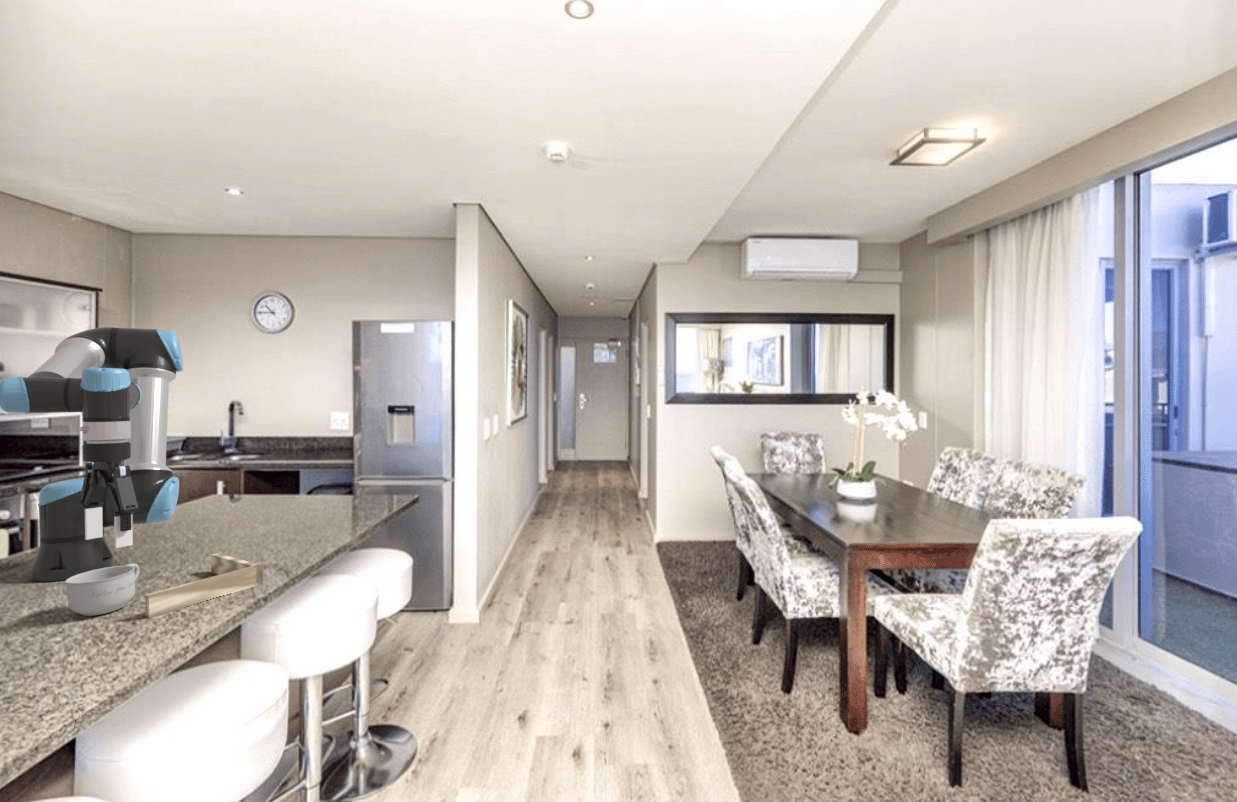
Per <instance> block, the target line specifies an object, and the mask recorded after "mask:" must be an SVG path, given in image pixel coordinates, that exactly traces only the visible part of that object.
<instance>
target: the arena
mask: <svg viewBox="0 0 1237 802" xmlns="http://www.w3.org/2000/svg"><path fill="white" fill-rule="evenodd" d="M210 573H212V574H215V575H214V576H210V577H206V578H203V579H198V580H194V581H192V582H188V583H184V584H181V585H177V586H172V587H169V588H165V589H162V590H157V591H154V592H150V593H148V594H147V593H146V594H145V597H144V599H145V601H144V602H145V603H144V604H145V605H144V607H145V609H144V610H145V611H144V612H145V613H144V614H145V618H148V619H150V618H154V617H157V616H160V615H164V614H167V613H170V612H174V610H175V611H178V610H181V609H185V608H187V606H188V607H190V606H195V605H197V603H198V604H201V603H205V602H207V601H206V600H208V601H210V599H211V600H213V598H214V599H217V598H216V597H218V598H220V597H219V596H221V597H224V596H228V595H231V594H234V593H237V592H240V591H244V590H247V589H251V588H254V587H258V586H261V585H263V584H264V565H263V564H260V563H256V562H252V561H248V560H244V559H242V558H237V557H233V556H229V555H226V554H223V553H222V554H221V553H218V552H216V553H212V554H210ZM230 593H231V594H230ZM227 594H228V595H227ZM223 595H224V596H223ZM200 602H201V603H200ZM194 604H195V605H194ZM184 607H185V608H184Z"/></svg>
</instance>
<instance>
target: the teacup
mask: <svg viewBox="0 0 1237 802" xmlns="http://www.w3.org/2000/svg"><path fill="white" fill-rule="evenodd" d="M140 571H141V570H140V566H139V565H138V564H137V563H127V564H125V565H114V566H113V567H106V568H101V569H96V570H92V571H88V572H84V573H81V574H77V575H75V576H72V577H70V578H68V579H67V580H64V584H65V585H66V586H65V587H66V588H65V589H66V597H67V602H68V607H69V609H70V610H71V611H72V612H74V613H76V614H80V615H81V616H85V617H93V616H98V615H103V614H104V615H105V614H109V613H112V612H115V611H117V610H120V609H121V608H123V607H125V606H126V605H127V603H128V602H129V601H131V600H132V598H134V596H135V593H136V580H137V579H138V577H139V575H140Z"/></svg>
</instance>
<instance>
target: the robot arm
mask: <svg viewBox="0 0 1237 802" xmlns="http://www.w3.org/2000/svg"><path fill="white" fill-rule="evenodd" d="M183 370H184V361H183V354H182V347H181V344H180V340H179V337H178V334H177V333H176V332H175V331H173V330H168V329H167V330H166V329H159V328H154V329H152V328H131V327H130V328H129V327H128V328H127V327H112V326H111V327H110V326H106V327H104V326H103V327H96V328H92V329H91V328H90V329H87V330H84V331H80V332H78V333H74V334H73V335H70V336H68V337H67V338H65V339H62V341H60V342H59V343H58V344H57V345H56V347H55V350H54V354H53V355H52V356H51V357H50V358H48V359H47V360H45V362H44V363H42V364H41V365H40V366H39V367H38V368H37V369H35V371H33V372H32V373H31V374H30V375H29V376H27V377H25V376H17V377H5V378H3V379H2V380H0V408H1V410H2V411H4V412H6V413H10V414H13V413H15V414H16V413H17V414H18V413H19V414H20V413H21V414H46V413H47V414H48V413H49V414H51V413H52V414H54V413H55V414H56V413H59V414H60V413H82V414H81V415H82V419H81V421H82V426H80V427H79V431H80V432H82V440H83V441H84V442H86V443H83V445H82V461H84V462H87V463H85V465H84V466H85V469H84V470H85V471H84V472H85V473H84V476H83V477H78V478H72V479H66V480H65V479H64V480H62V481H61V480H60V481H55V482H52V483H49V484H46V485H44V486H43V487H42V488H41V489H40V490H39V499H38V500H39V501H38V504H37V507H38V517H39V518H38V519H39V522H38V523H39V547H38V550H37V552H36V555H35V556H34V559H33V562H32V564H31V566H30V569H29V571H30V575H29V578H30V580H31V581H35V582H57V581H66V580H67V579H68V578H70V577H72V576H75V575H77V574H81V573H84V572H88V571H92V570H96V569H101V568H106V567H114V566H115V557H114V554H113V552H112V550H111V547H110V545H109V544H108V542H107V541H108V540H107V539H106V536H105V528H110V527H114V529H113V530H114V548H115V549H118V548H119V549H120V548H124V547H129V546H133V545H134V543H133V542H134V540H133V539H134V538H133V537H134V535H133V525H142V524H148V525H151V524H153V523H162V522H165V521H168V520H169V519H171V518H172V517H173V515H174V513H175V511H176V508H177V504H178V499H179V494H180V479H179V478H178V476H177V477H176V476H174V475H173V474H174V473H173V470H172V469H171V468H170V467H168V466H167V444H168V443H167V441H168V420H169V419H168V418H169V417H168V416H169V415H168V413H169V412H168V411H169V391H170V390H169V389H170V387H169V385H170V383H171V382H173V380H175V379H176V378H177V373H178V372H179V373H180V372H182V371H183ZM122 461H124V462H123V465H122Z"/></svg>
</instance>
